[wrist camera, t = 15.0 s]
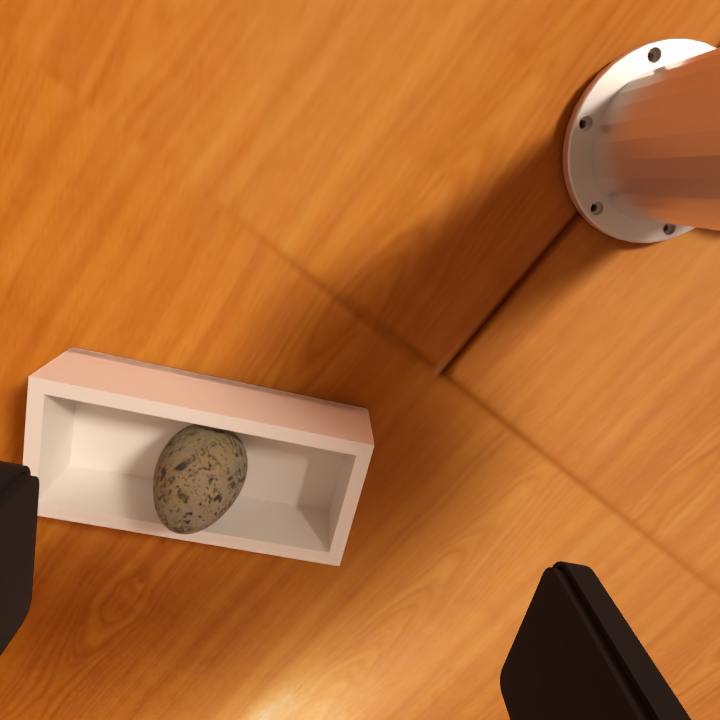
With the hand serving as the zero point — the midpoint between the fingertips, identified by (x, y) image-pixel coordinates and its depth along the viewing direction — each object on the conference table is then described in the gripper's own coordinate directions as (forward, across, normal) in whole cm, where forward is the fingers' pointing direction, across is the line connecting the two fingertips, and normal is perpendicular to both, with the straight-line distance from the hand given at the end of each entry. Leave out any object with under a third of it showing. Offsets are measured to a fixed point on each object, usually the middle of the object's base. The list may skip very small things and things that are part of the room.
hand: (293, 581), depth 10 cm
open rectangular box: (+30, +5, +14) cm, 34 cm away
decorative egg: (+29, +5, +14) cm, 33 cm away
